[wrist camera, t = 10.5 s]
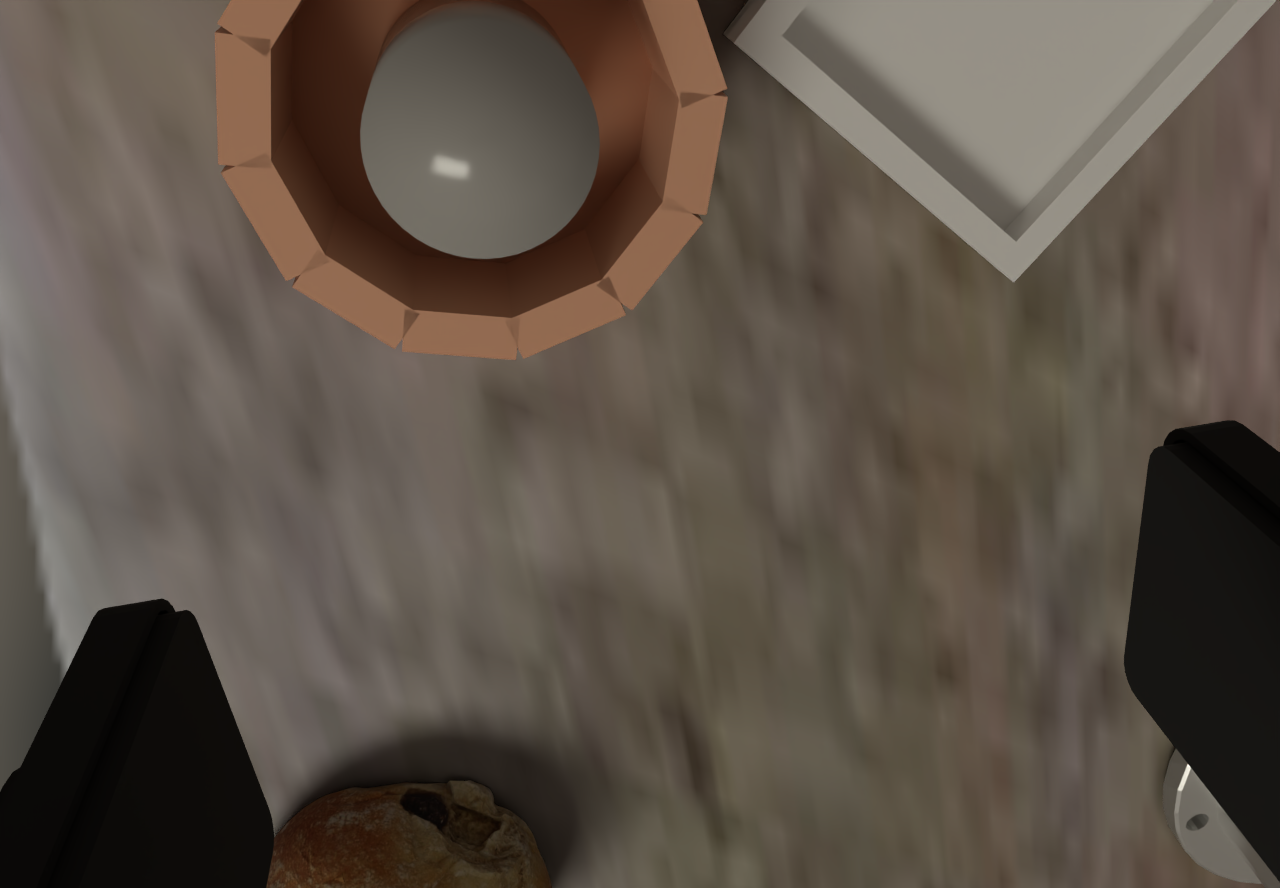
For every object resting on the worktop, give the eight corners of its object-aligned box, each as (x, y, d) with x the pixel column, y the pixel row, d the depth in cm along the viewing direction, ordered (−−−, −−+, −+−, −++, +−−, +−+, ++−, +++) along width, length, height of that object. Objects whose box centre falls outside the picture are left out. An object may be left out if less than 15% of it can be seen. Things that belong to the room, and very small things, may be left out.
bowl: (767, 43, 27) (818, 78, 23) (522, 356, 30) (533, 432, 26) (409, -269, 23) (402, -286, 19) (167, 130, 26) (121, 183, 22)
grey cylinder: (613, 71, 26) (646, 121, 22) (498, 225, 27) (509, 300, 23) (449, -60, 24) (451, -35, 20) (335, 111, 25) (313, 169, 21)
